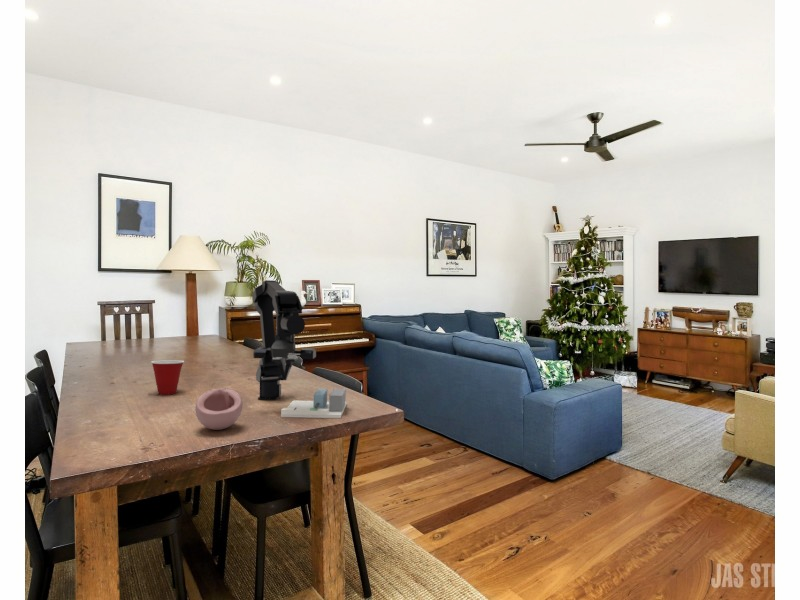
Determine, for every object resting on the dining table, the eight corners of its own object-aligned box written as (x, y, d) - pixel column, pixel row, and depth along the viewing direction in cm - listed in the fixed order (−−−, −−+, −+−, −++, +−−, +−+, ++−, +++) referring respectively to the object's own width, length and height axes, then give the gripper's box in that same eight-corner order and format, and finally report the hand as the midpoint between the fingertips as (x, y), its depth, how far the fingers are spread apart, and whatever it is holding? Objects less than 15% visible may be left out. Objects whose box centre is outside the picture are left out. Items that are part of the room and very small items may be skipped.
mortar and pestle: (194, 438, 117) (195, 394, 117) (195, 424, 128) (195, 384, 128) (243, 432, 122) (244, 390, 122) (240, 420, 133) (240, 381, 133)
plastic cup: (189, 390, 169) (190, 358, 169) (174, 397, 159) (174, 363, 158) (161, 389, 170) (161, 357, 169) (143, 396, 159) (144, 362, 159)
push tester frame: (281, 417, 137) (281, 397, 137) (293, 403, 153) (293, 385, 153) (340, 418, 137) (340, 398, 137) (346, 404, 153) (346, 386, 153)
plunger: (310, 413, 137) (311, 398, 137) (318, 402, 149) (318, 388, 149) (320, 413, 137) (320, 398, 137) (327, 403, 149) (327, 389, 149)
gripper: (247, 333, 136) (247, 385, 137) (309, 334, 136) (309, 386, 137) (259, 330, 148) (258, 377, 148) (316, 330, 148) (316, 378, 148)
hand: (285, 380), depth 145 cm, fingers closed
